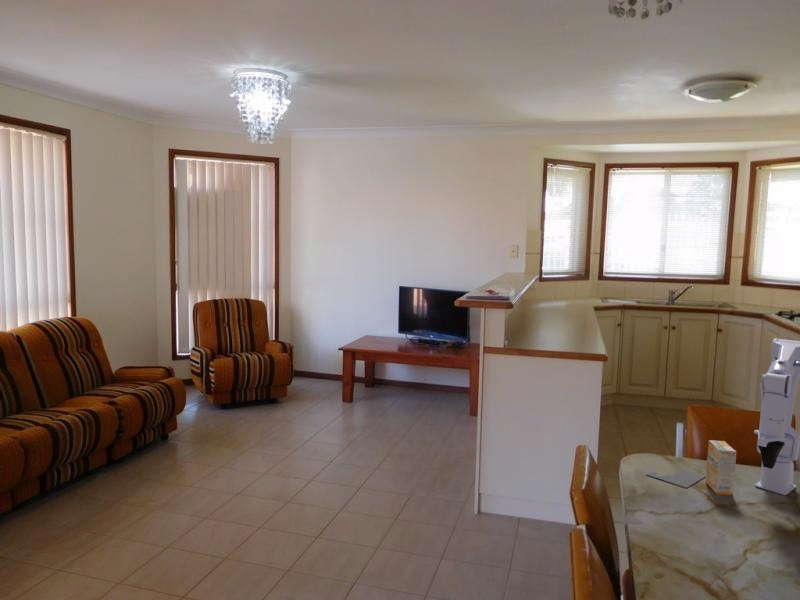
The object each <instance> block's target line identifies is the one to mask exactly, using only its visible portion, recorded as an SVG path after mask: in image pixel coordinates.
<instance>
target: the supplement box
mask: <svg viewBox="0 0 800 600" xmlns="http://www.w3.org/2000/svg"><path fill="white" fill-rule="evenodd" d="M736 460H737V450H736V449H734V448H733V447H732V446H731V445H730V444H729V443H727V442H726V441H725V440H711V439H710V440H708V447H707V459H706V470H705V471H706V472H705V476H706V477H705V483H706V484H707V486H708V487H709V488H710V489H712V491H713V492H714V494H715V495H724V496H733V495H734V494H733V493H734V486H735V485H734V484H735V473H736Z"/></svg>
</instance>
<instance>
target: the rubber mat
mask: <svg viewBox="0 0 800 600" xmlns="http://www.w3.org/2000/svg"><path fill="white" fill-rule="evenodd" d="M677 468H678V469H679V470H680V469H681V468H680V467H677ZM677 468H676V469H677ZM676 469H675V470H676ZM678 469H677V470H678ZM677 470H676V471H677ZM685 470H686V471H683V473H682V471H681V470H680V472H677V473H678V474H676V473H675V474H674V475H675V476H674V475H673V476H669V475H666V476H657V475H658V473H656V472H654V470H652V471H650V472H648V473H646V475H645V476H647V475H648V476H647V477H650V476H651V477H650V478H653V477H654V479H656V478H658V479H657V480H659V479H661V480H660V481H662V480H664V481H663V482H665V481H666V483H668V482H669V484H671V483H672V485H674V484H675V486H677V485H678V487H681V488H685V489H688V488H690V487H692V486H693V485H695V484H696V482H697V483H698V482H700V481H702V480H703V479H705V478H706V475H703V474H699V473H696V472H692V471H690V470H687V469H685ZM680 473H681V474H680ZM670 475H671V474H670ZM704 477H705V478H704ZM701 479H702V480H701ZM699 480H700V481H699ZM691 485H692V486H691Z"/></svg>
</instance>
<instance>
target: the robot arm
mask: <svg viewBox="0 0 800 600" xmlns="http://www.w3.org/2000/svg"><path fill="white" fill-rule="evenodd" d="M770 351H771V352H770V355H771V364H770V366H769V368H768V370H767V372H766V374H764V373H763V374H762V375H761V379H760V400H761V405H760V406H761V407H760V419H759V425H758V426H759V428H758V429H755V430H753V433H754V434H756V435H757V436H758V437H757V439H756V450H757V452H758V453H759V454H760V457H761V469H760V471H761V472H760V480H759V481H758V482H756V483H755V484H754V486H755V488H760V489H764V490H766V491H769V492H774V493H777V494H780V495H783V496H786V495H788V494H789V493H791V492H792V491H793V490H794V489H795V488H796V487H797V485H796V484H793V483H794V482H793V479H794V471H795V469H794V468H795V466H794V465H795V464H794V462H795V461H797V460H798V459H799V456H800V433H799V432H798V431H797V430H796V429H795V428H793V426H791V425H792V419H793V414H794V409H795V408H794V407H795V401H796V395H797V389H798V385H799V384H798V383H799V381H800V340H792V339H781V338H778V337H775V338H774V339H773V340H772V343H771V350H770Z"/></svg>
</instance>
